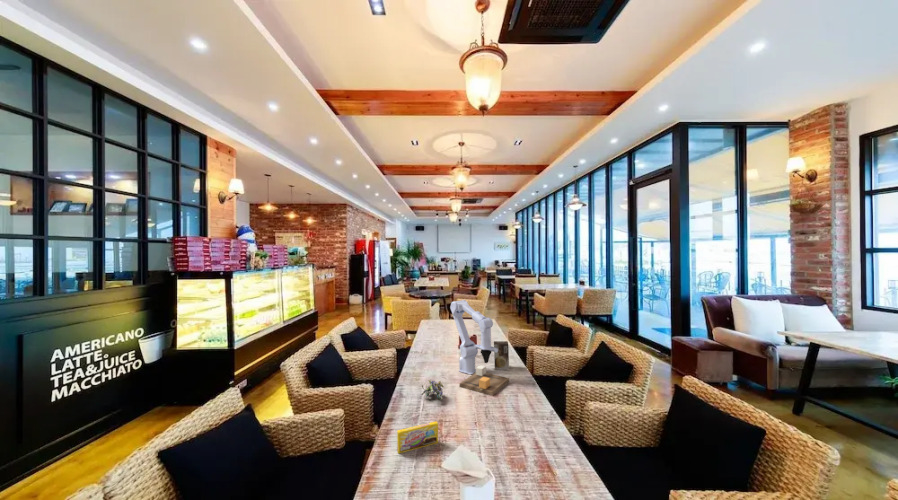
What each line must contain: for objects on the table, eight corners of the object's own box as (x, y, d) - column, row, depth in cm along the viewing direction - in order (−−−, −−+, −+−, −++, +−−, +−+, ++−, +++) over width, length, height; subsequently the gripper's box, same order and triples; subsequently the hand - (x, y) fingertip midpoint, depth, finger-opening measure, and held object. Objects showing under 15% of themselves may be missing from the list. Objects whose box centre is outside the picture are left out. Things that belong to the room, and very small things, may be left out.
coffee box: (508, 366, 210) (507, 341, 209) (509, 369, 203) (508, 344, 203) (494, 365, 211) (493, 340, 210) (494, 369, 204) (494, 343, 204)
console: (458, 387, 179) (458, 384, 179) (478, 374, 197) (478, 370, 197) (490, 396, 167) (490, 392, 167) (509, 381, 186) (509, 377, 186)
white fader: (475, 374, 190) (475, 367, 190) (480, 371, 195) (480, 365, 195) (481, 376, 188) (481, 369, 188) (486, 373, 192) (485, 366, 192)
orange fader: (479, 387, 173) (478, 379, 173) (483, 383, 177) (483, 376, 177) (485, 389, 171) (485, 381, 171) (490, 385, 175) (490, 378, 175)
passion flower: (440, 409, 166) (445, 396, 159) (419, 407, 164) (423, 394, 158) (440, 389, 175) (445, 375, 169) (420, 387, 174) (424, 373, 167)
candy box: (398, 454, 122) (398, 432, 122) (396, 451, 124) (396, 429, 124) (438, 443, 129) (438, 422, 128) (436, 440, 131) (436, 420, 130)
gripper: (471, 339, 190) (472, 362, 191) (493, 343, 182) (494, 367, 182) (477, 336, 196) (478, 358, 196) (499, 339, 188) (499, 363, 188)
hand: (486, 362), depth 190 cm, fingers closed
